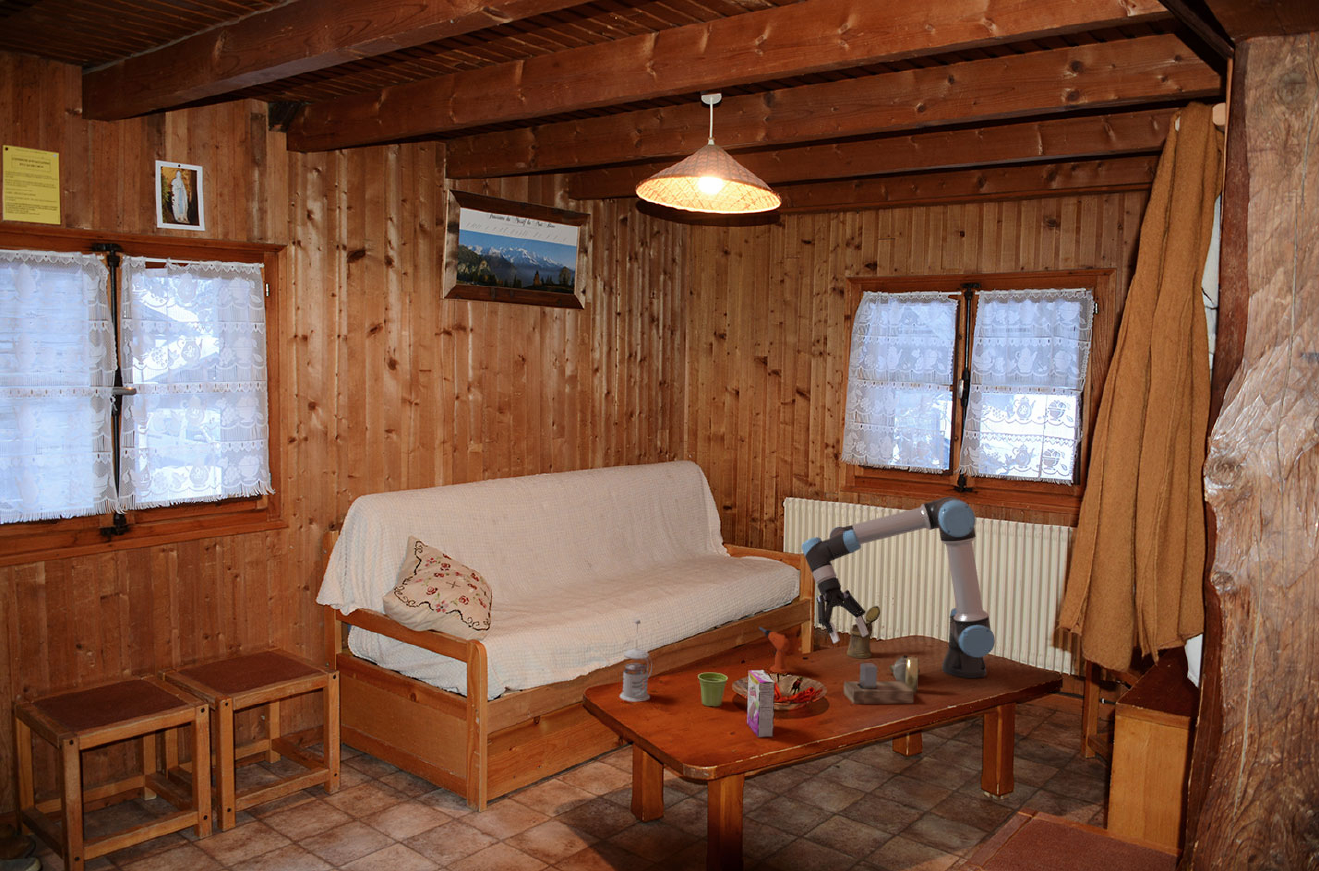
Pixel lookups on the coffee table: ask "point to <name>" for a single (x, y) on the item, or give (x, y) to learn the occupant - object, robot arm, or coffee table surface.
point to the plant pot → (712, 688)
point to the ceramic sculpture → (900, 668)
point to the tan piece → (860, 644)
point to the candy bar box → (760, 703)
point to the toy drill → (778, 649)
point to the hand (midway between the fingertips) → (851, 638)
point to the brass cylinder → (912, 673)
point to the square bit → (868, 676)
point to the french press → (635, 676)
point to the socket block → (879, 692)
